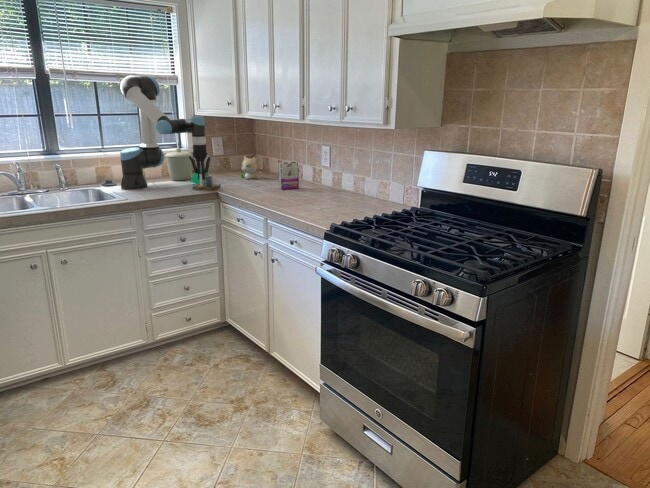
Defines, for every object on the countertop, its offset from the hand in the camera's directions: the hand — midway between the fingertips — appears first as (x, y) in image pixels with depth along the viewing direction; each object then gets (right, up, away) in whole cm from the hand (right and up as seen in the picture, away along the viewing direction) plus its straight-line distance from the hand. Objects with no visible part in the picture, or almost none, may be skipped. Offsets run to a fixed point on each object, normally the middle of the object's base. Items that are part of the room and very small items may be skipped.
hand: (202, 185), depth 282 cm
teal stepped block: (+2, 0, +6) cm, 6 cm away
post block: (0, -1, +10) cm, 11 cm away
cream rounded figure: (+20, +10, +46) cm, 51 cm away
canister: (-24, +8, +41) cm, 48 cm away
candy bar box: (+50, -1, +12) cm, 51 cm away
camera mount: (-6, +3, +26) cm, 27 cm away
